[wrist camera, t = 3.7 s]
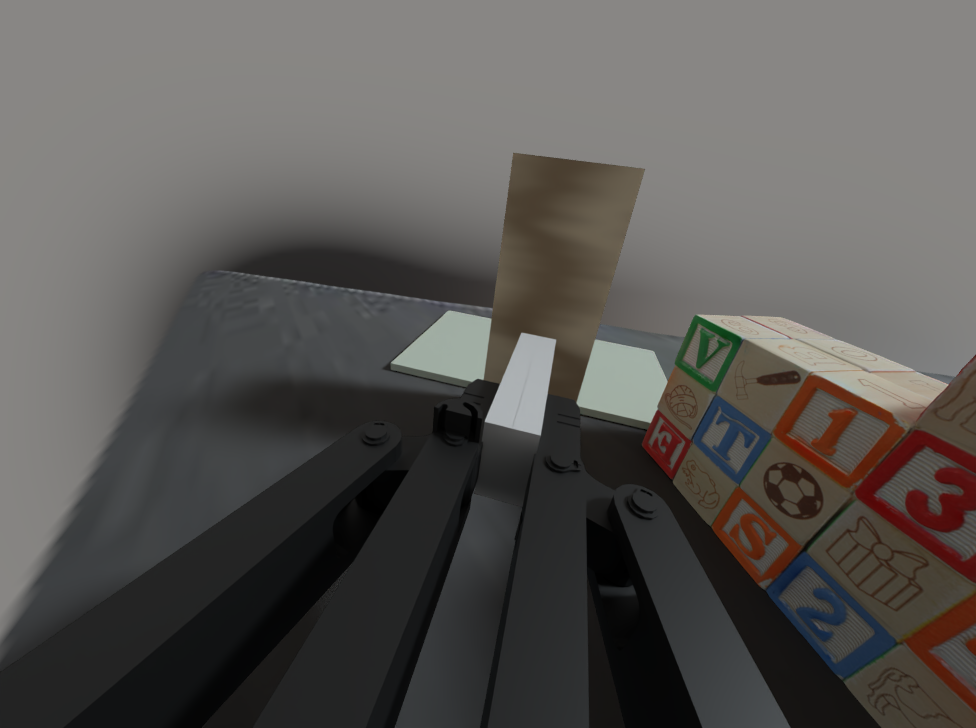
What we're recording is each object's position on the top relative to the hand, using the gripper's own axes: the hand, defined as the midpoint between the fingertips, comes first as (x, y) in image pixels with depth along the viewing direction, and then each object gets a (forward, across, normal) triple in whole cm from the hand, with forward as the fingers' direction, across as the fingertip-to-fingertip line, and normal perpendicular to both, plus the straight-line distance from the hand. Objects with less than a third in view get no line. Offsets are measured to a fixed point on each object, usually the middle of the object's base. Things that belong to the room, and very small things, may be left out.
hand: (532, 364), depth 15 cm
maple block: (+5, 0, -7) cm, 8 cm away
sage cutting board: (+15, 0, -7) cm, 16 cm away
